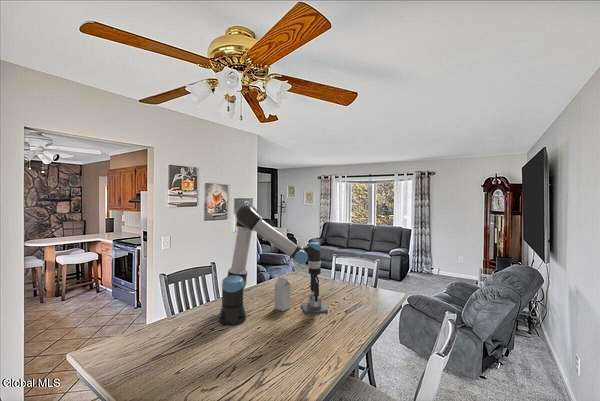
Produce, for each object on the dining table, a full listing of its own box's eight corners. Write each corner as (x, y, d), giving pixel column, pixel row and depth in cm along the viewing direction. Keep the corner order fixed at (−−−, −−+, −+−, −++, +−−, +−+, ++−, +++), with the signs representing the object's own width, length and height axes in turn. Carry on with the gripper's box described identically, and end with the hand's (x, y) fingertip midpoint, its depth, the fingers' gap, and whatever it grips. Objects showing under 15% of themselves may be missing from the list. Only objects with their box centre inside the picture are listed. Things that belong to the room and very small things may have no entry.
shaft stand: (305, 313, 171) (305, 300, 171) (301, 305, 184) (301, 292, 184) (327, 312, 173) (328, 299, 173) (322, 304, 187) (322, 291, 187)
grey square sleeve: (309, 308, 175) (310, 298, 175) (307, 304, 182) (307, 295, 182) (321, 308, 176) (321, 298, 176) (318, 304, 183) (318, 294, 183)
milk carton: (283, 311, 174) (283, 280, 174) (274, 308, 178) (274, 278, 178) (290, 308, 179) (290, 277, 179) (281, 305, 184) (282, 275, 184)
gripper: (324, 271, 169) (324, 309, 169) (316, 263, 189) (316, 298, 189) (311, 271, 168) (311, 310, 168) (305, 264, 188) (305, 299, 188)
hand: (314, 304), depth 179 cm, fingers closed on grey square sleeve, 7 cm apart
